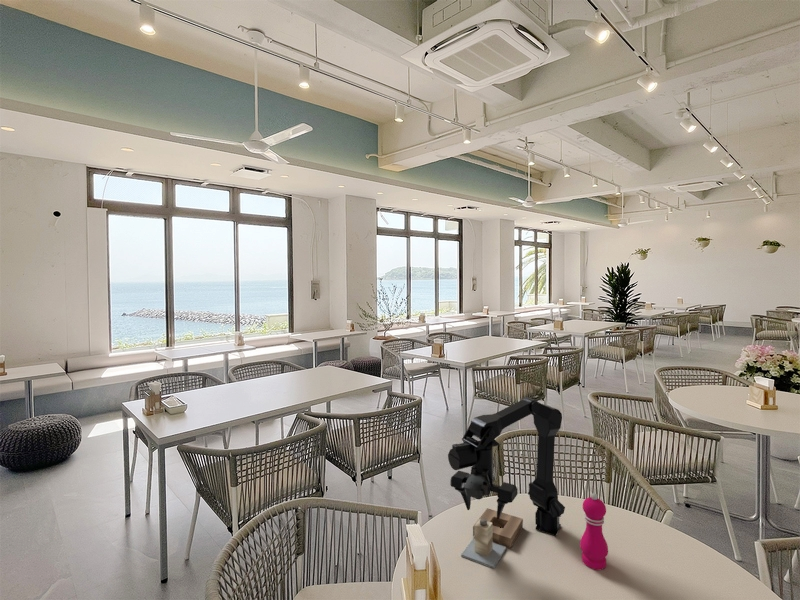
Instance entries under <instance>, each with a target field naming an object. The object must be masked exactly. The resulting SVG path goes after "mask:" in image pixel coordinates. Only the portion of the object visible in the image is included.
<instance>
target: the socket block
mask: <svg viewBox="0 0 800 600" xmlns="http://www.w3.org/2000/svg"><path fill="white" fill-rule="evenodd" d="M479 519H486V520H487V521H488V522H492V530H493V543H496V544H499V545H502V546H505V547H506V548H510V549H511V548H512V547H513V546H514V545H513V544H514V543H515V541H516V540H517V539H518V536H519V535H520V533H521V532H522V529H523V528H524V524H523V523H524V519H523V518H521V517H518V516H515V515H512V514H508V513H506V512H505V513H504V512H502V513H501V516H500V518H499V519H497V510H495V509H492V508H486V509H485V510H484V511H483V513H482V514H481V515H480V516H479V518H478V519H477V521H476V522H475V523H474V524H473V526H472V535H473V537H474V525H475V524H476V523H477V522H478V520H479ZM500 527H501V528H500ZM520 531H521V532H520Z"/></svg>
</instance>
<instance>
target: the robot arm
mask: <svg viewBox="0 0 800 600" xmlns="http://www.w3.org/2000/svg"><path fill="white" fill-rule="evenodd" d="M531 415H532V417H533V424H534V426H535V429H536V431H537V435H538V436H537V451H536V452H537V454H536V456H537V457H536V458H537V459H536V476H535V478H534V479H533V481H531V482H529V483H528V493H527V494H528V495H529V500H531V501H532V505H533V506H535V507H536V508H537V509H536V511H535V513H534V514H535V519H534V520H535V530H536V531H539V532H543V533H546V534H548V535H552V536H558V533H559V531H560V529H561V526H562V524H561V523H560V517H562V515H563V514H564V513H565V510H566V507H565V506H564V504H563V503H561V501H560V500H559V495H558V489H557V488H556V485H555V482H554V479H553V478H554V464H555V463H554V460H555V439H556V434H558V432H559V431H560V430H561V427H562V426H561V425H562V420H563V415H562V412H561V411H560V409H558V408H555V407H552V406H549V405H546V404H543V403H541V402H539V401H538V400H537V399H533V398H531V397H526V396H525V397H522V398H521V400H519V401H517V402H515V403H513V404H512V405H509V406H507V407H505V408H503V409H501V410H500V411H497V412H495V413H492V414H491V413H490V414H481V415H479V416H476V417H474V418H472V419H471V420H470V424H469V425H468V428H466V431H465V433H464V435H463V437H461V440H462V441H463V442H462V443H455V444H452V446H451V448H450V449H449V452H448V454H447V458H448V462H449V466H450V467H451V468H452V470H454V471H457V472H455V473H454V474H453V475H452V476H451V477H450V482H449V483H450V484H449V485H450V487H451V488H454V489H455V490H456V491H457V492H459V493H460V494H461V497H462V499H463V502H464V505H465V506H466V510H467V511H469V510H471V504H472V503H471V502H472V501H471V500H472V498H473V499H475V500H482V499H483V497H485V496H487V497H488V496H489V495H490V494H491V492H492V493H497V494H496V496H497V499H496V503H497V507H496V508H497V509H496V511H497V519H499V518H500V516H501V513H503V510H504V508H505V505H508V504H509V503H513V502H514V500H515V498H517V496H518V487H517V486H516V485H515V484H513V483H509V482H505V481H504V482H503V483H502V484H501V485H498V484H495V483H494V482H495V476H494V468H495V463H494V447H495V448H496V447H498V446H500V443H499V442H498V441H497V440H496V439H497V438H498V437H499V436H500V435H501V433H502V431H503V430H505V428H507V427H510V426H512V425H514V424H515V423H517V422H519V421H521V420H523V419H524V418H526V417H529V416H531ZM474 437H475V438H476V439H475V438H474ZM477 439H479V440H477ZM466 468H471V469H470V473H469V472H467V471H466V472H465V471H462V470H463V469H466Z"/></svg>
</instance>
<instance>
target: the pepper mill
mask: <svg viewBox="0 0 800 600" xmlns="http://www.w3.org/2000/svg"><path fill="white" fill-rule="evenodd" d="M582 510H583V512H584V518H583V519H584V521H585V523H586V526H585V530H584V532H583V534H582V535H581V538H580V541H579V542H580V544H579V547H580V550H581V561H582V563H583V565H585V566H586V567H588V568H589V569H593V570H599V571H600V570H604V569H605V568H606V566H607V556H608V554H609V546H608V543H607V541H606V539H605V537H604V533H603V526H604V524H605V515H606V513H607V507H606V504H605V503H604V501H603V500H602V499H600V498H599V496H598V494H597V493H596V492H593V493H591V494H590V496H589V497H587V498H585V499H584V500H583V502H582Z"/></svg>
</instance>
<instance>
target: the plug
mask: <svg viewBox="0 0 800 600" xmlns="http://www.w3.org/2000/svg"><path fill="white" fill-rule="evenodd" d="M478 519H479V518H478ZM478 519H477V521H478V522H477V521H476V522H477V523H476V522H475V523H476V524H475V523H474V524H475V525H474V524H473V526H474V536H473V538H474V541H475V552H477V553H479V554H482V555H485V556H487V557H488V555H489V554H490V552H491V551H492V549H493V543H494V542H493V530H492V522H488V521H487V520H486V519H479V520H478Z"/></svg>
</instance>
